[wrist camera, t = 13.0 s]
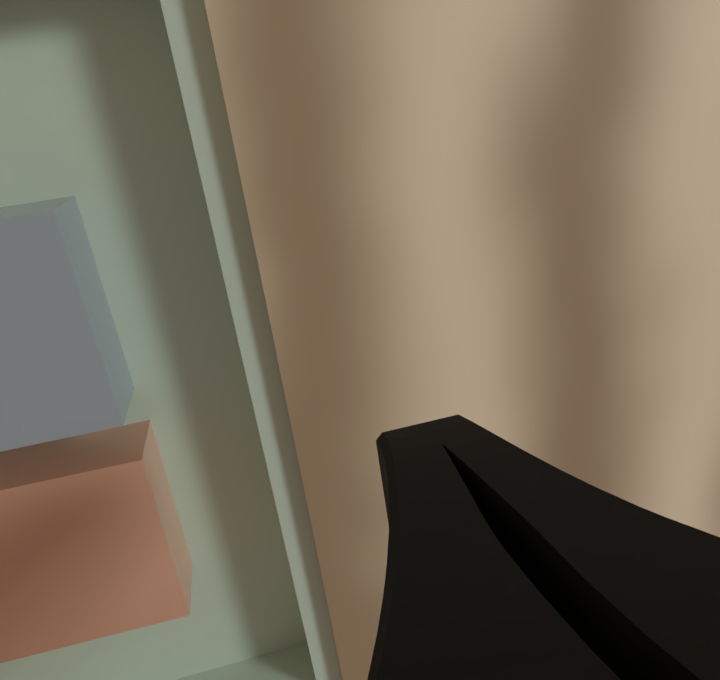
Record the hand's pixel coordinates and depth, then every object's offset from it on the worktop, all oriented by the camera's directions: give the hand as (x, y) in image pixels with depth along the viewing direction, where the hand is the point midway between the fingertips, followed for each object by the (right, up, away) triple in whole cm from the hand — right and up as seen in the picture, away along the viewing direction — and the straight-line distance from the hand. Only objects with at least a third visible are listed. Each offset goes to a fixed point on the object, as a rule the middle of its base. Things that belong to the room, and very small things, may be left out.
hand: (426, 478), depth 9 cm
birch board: (+4, +3, +9) cm, 11 cm away
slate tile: (-9, +2, +3) cm, 10 cm away
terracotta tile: (-8, -3, +6) cm, 11 cm away
